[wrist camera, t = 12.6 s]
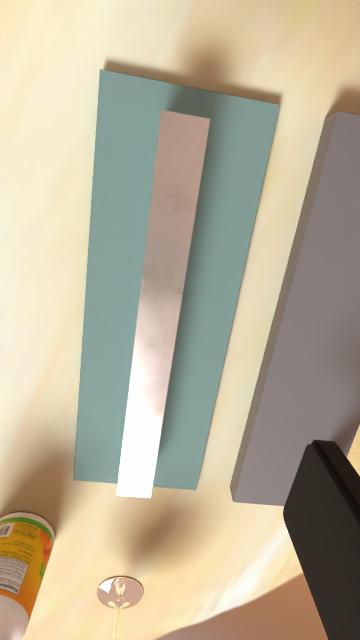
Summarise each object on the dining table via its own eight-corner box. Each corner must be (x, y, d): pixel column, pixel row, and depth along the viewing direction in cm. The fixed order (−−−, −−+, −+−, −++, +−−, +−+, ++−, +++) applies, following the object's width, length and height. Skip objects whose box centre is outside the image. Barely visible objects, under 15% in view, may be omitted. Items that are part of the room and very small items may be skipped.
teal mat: (101, 73, 18) (100, 69, 18) (276, 107, 19) (279, 104, 19) (75, 474, 27) (73, 480, 27) (195, 484, 28) (196, 490, 28)
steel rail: (161, 123, 19) (161, 109, 16) (203, 131, 19) (210, 118, 16) (121, 464, 26) (116, 495, 24) (151, 466, 27) (150, 497, 24)
